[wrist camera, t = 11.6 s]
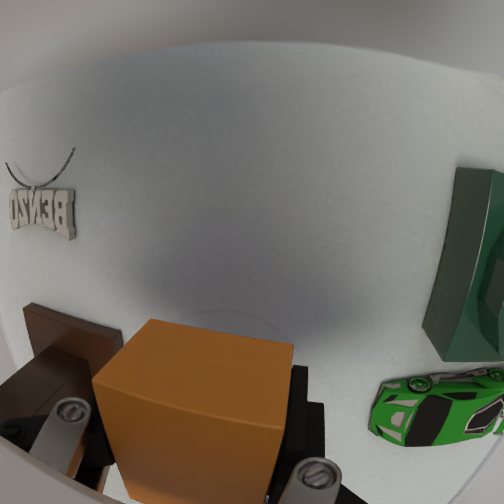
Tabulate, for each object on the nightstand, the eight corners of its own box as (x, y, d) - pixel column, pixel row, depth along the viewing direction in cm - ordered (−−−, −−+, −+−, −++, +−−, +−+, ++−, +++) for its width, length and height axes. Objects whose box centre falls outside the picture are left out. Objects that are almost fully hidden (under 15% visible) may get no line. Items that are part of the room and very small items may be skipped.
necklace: (83, 238, 16) (81, 146, 14) (75, 242, 15) (73, 147, 13) (14, 229, 16) (10, 153, 15) (7, 231, 16) (3, 154, 14)
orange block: (150, 317, 10) (90, 379, 6) (293, 342, 9) (284, 428, 6) (162, 438, 11) (129, 498, 8) (268, 461, 11) (255, 532, 7)
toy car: (362, 432, 16) (366, 459, 14) (379, 374, 15) (387, 402, 13) (490, 417, 15) (501, 437, 13) (516, 362, 13) (532, 382, 11)
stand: (31, 302, 18) (-145, 426, 2) (121, 331, 17) (-79, 544, 1) (53, 389, 20) (-68, 517, 4) (136, 423, 19) (22, 602, 3)
